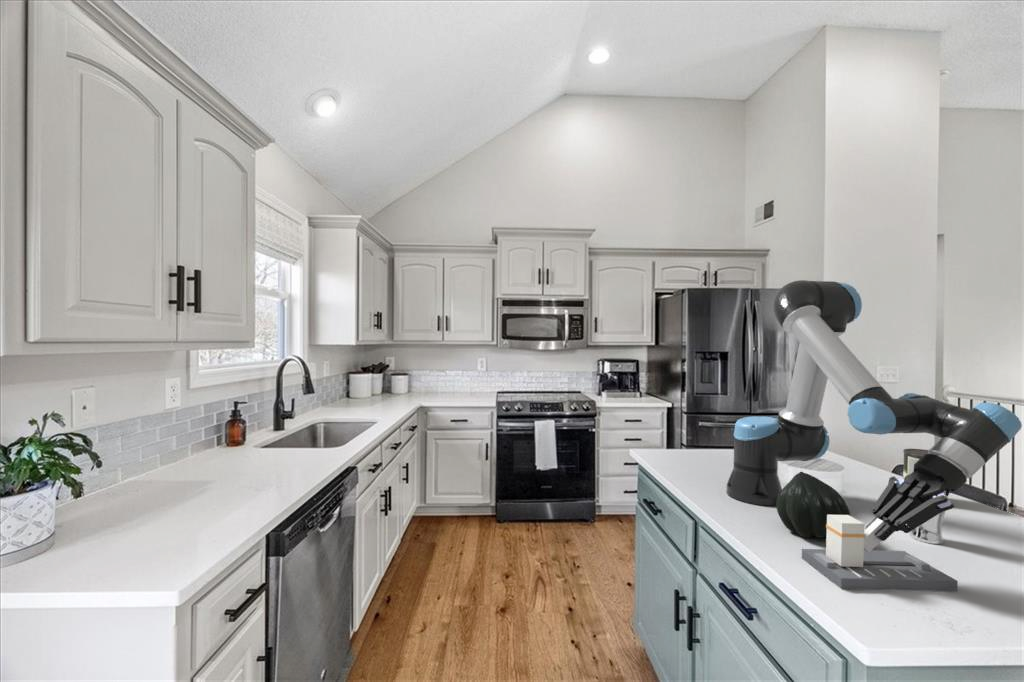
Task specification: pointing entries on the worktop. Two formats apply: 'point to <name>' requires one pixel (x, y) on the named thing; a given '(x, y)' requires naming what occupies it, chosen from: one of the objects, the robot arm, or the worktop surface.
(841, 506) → the squash
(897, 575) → the panel
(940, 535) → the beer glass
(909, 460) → the coffee can
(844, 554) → the fader knob
